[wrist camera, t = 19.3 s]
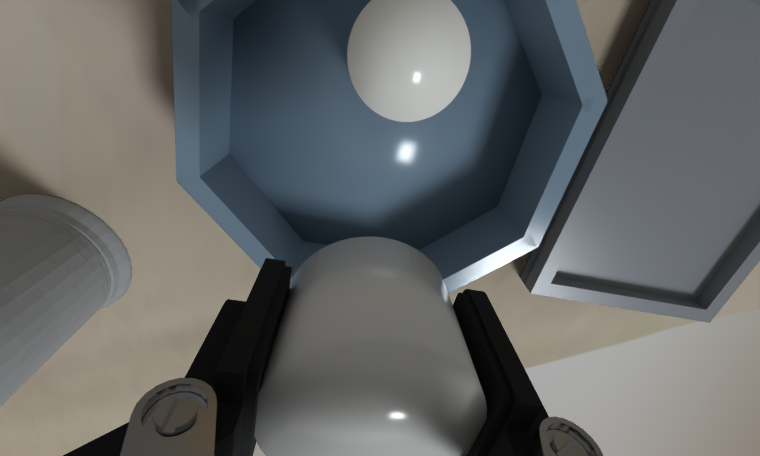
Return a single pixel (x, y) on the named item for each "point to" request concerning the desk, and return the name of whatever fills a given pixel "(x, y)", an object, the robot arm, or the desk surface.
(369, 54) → the pebble
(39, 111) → the desk surface
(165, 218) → the desk surface
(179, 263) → the desk surface
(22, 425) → the desk surface
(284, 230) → the bowl
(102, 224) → the glass holder
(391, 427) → the pebble
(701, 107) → the tray
